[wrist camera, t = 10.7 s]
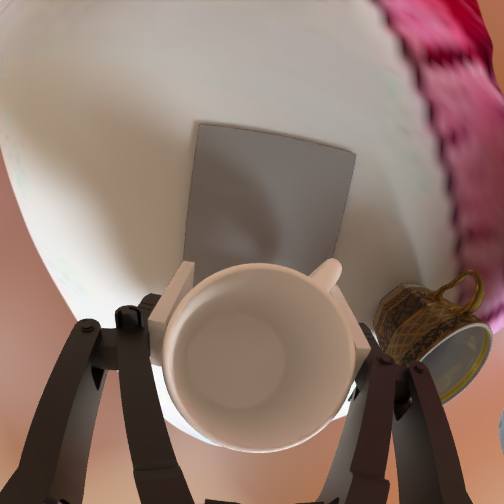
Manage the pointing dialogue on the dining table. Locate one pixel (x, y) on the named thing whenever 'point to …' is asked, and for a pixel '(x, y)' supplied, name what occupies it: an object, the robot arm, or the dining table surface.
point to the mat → (263, 201)
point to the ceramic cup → (435, 333)
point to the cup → (260, 356)
